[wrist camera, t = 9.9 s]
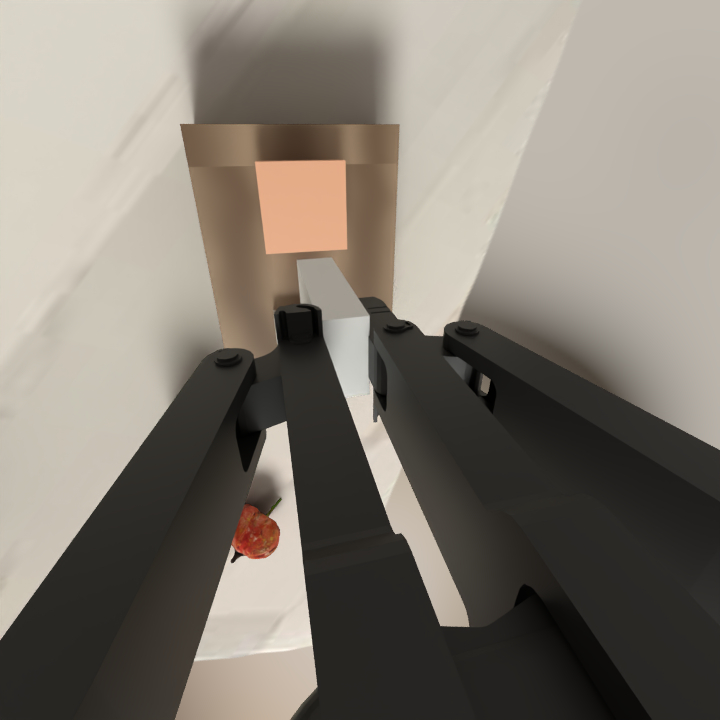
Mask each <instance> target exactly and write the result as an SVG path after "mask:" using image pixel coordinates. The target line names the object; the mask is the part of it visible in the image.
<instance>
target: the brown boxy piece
mask: <svg viewBox="0 0 720 720" xmlns="http://www.w3.org/2000/svg"><path fill="white" fill-rule="evenodd" d="M180 126H181V131H182V136H183V141H184V146H185V151H186V156H187V162H188V167H189V172H190V177H191V182H192V187H193V192H194V197H195V202H196V207H197V212H198V217H199V222H200V227H201V232H202V238H203V243H204V248H205V253H206V258H207V263H208V268H209V273H210V278H211V283H212V288H213V293H214V298H215V303H216V308H217V314H218V319H219V324H220V329H221V334H222V339H223V344H224V349H225V348H241V349H246V350H249V351H251V352H252V354H253V355H254V359H255V358H258V357H261V356H264V355H267V354H268V353H270V352H272V351H273V350H274V349H275V348H276V347H277V338H276V330H275V321H274V312H273V310H277V309H278V308H279V306H286V305H292V304H301V303H300V292H299V281H298V270H297V260H304V259H317V258H331V257H332V259H333V260H334V262H335V263H336V265H337V266H338V268H339V269H340V271H341V273H342V274H343V276H344V277H345V279H346V280H347V282H348V283H349V285H350V286H351V288H352V289H353V291H354V292H355V294H356V295H357V297H358V298H363V297H376V298H378V299H380V300H382V301H384V303H385V304H386V305H387V307H388V308H389V309H390V310H391V312H392V301H393V276H394V250H395V225H396V199H397V174H398V148H399V125H379V124H180ZM282 160H345V161H346V212H347V249H346V250H329V251H312V252H295V253H278V254H266V249H265V241H264V233H263V224H262V216H261V208H260V200H259V191H258V183H257V175H256V167H255V161H282Z"/></svg>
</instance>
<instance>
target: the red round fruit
mask: <svg viewBox="0 0 720 720" xmlns="http://www.w3.org/2000/svg"><path fill="white" fill-rule="evenodd" d="M281 500H282V499H281V498H280V499H279V500H278V501H277V502H276V504H275V505H273V506H272V507H271V510H270V511H269V512H268V513H267V514H266V515H265V514H263V513H262V512H259V510H258V509H257V508H256V507H253V506H252V505H250V504H245V505H244V507H243V510H242V513H241V517H240V520H239V523H238V526H237V529H236V532H235V535H234V538H233V541H232V544H231V545H232V546H233V547H234V549H235V554H234V557H233V558H232V560H231V563H234V562H235V560H236V559H237V558H239V557H241V556H248V557H249V558H251V559H260V558H266V557H268V556H269V555H271V554H272V553H273V552H274V551H275V549H276V548H277V546H278V542H279V536H280V529H279V527H278V526H277V523H276V522H275V521H274V520H272V519H270V518H269V515H270V513H271V512H272V511H273V509H274V508H275V507H276V506H277V505H278V503H279V502H280V501H281Z"/></svg>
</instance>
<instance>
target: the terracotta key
mask: <svg viewBox="0 0 720 720" xmlns="http://www.w3.org/2000/svg"><path fill="white" fill-rule="evenodd" d="M255 167H256V175H257V183H258V191H259V200H260V208H261V216H262V224H263V233H264V241H265V249H266V254H278V253H295V252H312V251H329V250H346V249H347V212H346V161H345V160H282V161H255Z"/></svg>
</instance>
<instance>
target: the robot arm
mask: <svg viewBox="0 0 720 720" xmlns="http://www.w3.org/2000/svg"><path fill="white" fill-rule="evenodd" d="M297 270H298V281H299V292H300V303H301V304H292V305H286V306H279V308H278V309H277V310H276V311H275V312H274V320H275V328H276V335H277V343H278V344H277V347H276V348H275V349H274V350H273V351H272V352H270V353H268V354H267V355H264V356H261V357H258V358H255V359H254V355H253V354H252V352H251V351H249V350H246V349H241V348H225V349H223V350H222V349H221V350H217V351H216V352H214V353H212V354H210V355H208V356H207V357H206V358H205V359H203V361H202V362H201V363H200V365H199V366H198V368H197V369H196V370H195V372H194V373H193V375H192V376H191V377H190V379H189V380H188V381H187V383H186V384H185V386H184V387H183V388H182V390H181V391H180V392H179V394H178V395H177V397H176V398H175V399H174V401H173V402H172V404H171V405H170V406H169V408H168V409H167V410H166V412H165V413H164V415H163V416H162V417H161V419H160V420H159V422H158V423H157V424H156V426H155V427H154V428H153V430H152V431H151V433H150V434H149V435H148V437H147V438H146V440H145V441H144V442H143V444H142V445H141V446H140V448H139V449H138V451H137V452H136V453H135V455H134V456H133V458H132V459H131V460H130V462H129V463H128V464H127V466H126V467H125V469H124V470H123V471H122V473H121V474H120V475H119V477H118V478H117V480H116V481H115V482H114V484H113V485H112V487H111V488H110V489H109V491H108V492H107V493H106V495H105V496H104V498H103V499H102V500H101V502H100V503H99V505H98V506H97V507H96V509H95V510H94V511H93V513H92V514H91V516H90V517H89V518H88V520H87V521H86V523H85V524H84V525H83V527H82V528H81V529H80V531H79V532H78V534H77V535H76V536H75V538H74V539H73V541H72V542H71V543H70V545H69V546H68V547H67V549H66V550H65V552H64V553H63V554H62V556H61V557H60V559H59V560H58V561H57V563H56V564H55V565H54V567H53V568H52V570H51V571H50V572H49V574H48V575H47V576H46V578H45V579H44V581H43V582H42V583H41V585H40V586H39V588H38V589H37V590H36V592H35V593H34V594H33V596H32V597H31V599H30V600H29V601H28V603H27V604H26V606H25V607H24V608H23V610H22V611H21V612H20V614H19V615H18V617H17V618H16V619H15V621H14V622H13V624H12V625H11V626H10V628H9V629H8V630H7V632H6V633H5V635H4V636H3V637H2V639H1V640H0V720H175V717H176V714H177V711H178V708H179V704H180V701H181V698H182V695H183V692H184V689H185V686H186V683H187V680H188V677H189V674H190V671H191V668H192V664H193V661H194V658H195V655H196V652H197V649H198V646H199V643H200V640H201V637H202V634H203V631H204V628H205V624H206V621H207V618H208V615H209V612H210V609H211V606H212V603H213V600H214V597H215V594H216V591H217V587H218V584H219V581H220V578H221V575H222V572H223V569H224V566H225V563H226V560H227V557H228V554H229V550H230V547H231V544H232V541H233V538H234V535H235V532H236V529H237V526H238V523H239V520H240V517H241V513H242V510H243V507H244V504H245V501H246V498H247V495H248V492H249V489H250V486H251V483H252V480H253V477H254V473H255V470H256V467H257V464H258V461H259V458H260V455H261V452H262V449H263V446H264V443H265V440H266V428H269V427H272V426H274V425H277V424H280V423H282V422H285V421H287V428H288V436H289V444H290V453H291V461H292V470H293V478H294V487H295V495H296V504H297V512H298V520H299V529H300V537H301V546H302V557H303V566H304V575H305V583H306V592H307V600H308V609H309V617H310V626H311V634H312V643H313V651H314V659H315V668H316V677H317V685H318V687H317V688H316V689H315V690H314V692H313V693H312V694H311V695H310V696H309V697H308V698H307V699H306V700H305V701H304V702H303V703H302V704H301V706H300V707H299V709H298V710H297V711H296V713H295V714H294V715H293V717H292V718H291V720H720V450H718V449H717V448H715V447H713V446H711V445H709V444H707V443H705V442H703V441H701V440H699V439H698V438H696V437H694V436H692V435H690V434H688V433H686V432H684V431H682V430H681V429H679V428H677V427H675V426H673V425H671V424H669V423H667V422H665V421H663V420H662V419H659V418H658V417H656V416H654V415H652V414H650V413H648V412H646V411H644V410H643V409H641V408H639V407H637V406H635V405H633V404H631V403H629V402H627V401H625V400H624V399H622V398H620V397H618V396H616V395H614V394H612V393H610V392H608V391H606V390H605V389H603V388H601V387H599V386H597V385H595V384H593V383H591V382H589V381H588V380H586V379H584V378H581V377H580V376H578V375H576V374H574V373H572V372H570V371H569V370H567V369H565V368H563V367H561V366H559V365H557V364H555V363H553V362H551V361H549V360H548V359H546V358H544V357H542V356H540V355H538V354H536V353H534V352H532V351H530V350H529V349H527V348H525V347H523V346H521V345H519V344H517V343H515V342H513V341H511V340H510V339H508V338H506V337H504V336H502V335H500V334H498V333H496V332H494V331H492V330H491V329H489V328H487V327H485V326H483V325H480V324H478V323H473V322H471V321H458V322H452V323H450V324H447V325H446V326H445V327H444V334H443V336H425V335H424V334H423V333H422V332H421V331H420V329H419V328H418V327H417V326H416V325H415V324H413V323H412V322H409V321H406V320H399V319H397V318H396V317H395V315H394V314H393V313H392V312H391V310H390V309H389V308H388V307H387V305H386V304H385V303H384V301H382V300H380V299H378V298H376V297H363V298H358V297H357V295H356V294H355V292H354V291H353V289H352V288H351V286H350V285H349V283H348V282H347V280H346V279H345V277H344V276H343V274H342V273H341V271H340V269H339V268H338V266H337V265H336V263H335V262H334V260H333V259H332V257H331V258H317V259H304V260H297ZM483 374H484V375H485V376H487V377H488V378H489V379H491V381H490V387H489V392H488V394H486V393H484V392H483V391H481V383H482V378H483ZM370 381H371V383H372V385H373V420H374V422H377V417H378V415H380V417H381V420H382V422H383V424H384V426H385V429H386V431H387V433H388V435H389V438H390V440H391V442H392V444H393V446H394V449H395V451H396V453H397V455H398V458H399V460H400V462H401V464H402V467H403V469H404V471H405V473H406V475H407V477H408V480H409V482H410V484H411V487H412V489H413V491H414V493H415V496H416V498H417V500H418V502H419V504H420V507H421V509H422V511H423V513H424V515H425V518H426V520H427V522H428V525H429V527H430V529H431V531H432V533H433V536H434V538H435V540H436V542H437V545H438V547H439V549H440V551H441V553H442V556H443V558H444V560H445V562H446V565H447V567H448V569H449V571H450V574H451V576H452V578H453V580H454V583H455V585H456V587H457V589H458V591H459V594H460V595H461V598H462V600H463V603H464V605H465V608H466V611H467V615H468V620H469V626H470V627H447V626H440V624H439V622H438V619H437V617H436V614H435V611H434V609H433V606H432V604H431V601H430V598H429V596H428V593H427V590H426V588H425V585H424V583H423V580H422V577H421V575H420V572H419V570H418V567H417V564H416V562H415V559H414V556H413V554H412V551H411V549H410V547H409V545H408V543H407V540H406V539H405V537H404V536H403V535H402V534H401V533H400V534H395V533H394V532H393V530H392V527H391V525H390V523H389V520H388V517H387V514H386V511H385V508H384V505H383V503H382V500H381V497H380V494H379V491H378V489H377V486H376V483H375V480H374V477H373V475H372V472H371V469H370V466H369V463H368V460H367V458H366V455H365V452H364V449H363V446H362V444H361V441H360V438H359V435H358V432H357V430H356V427H355V424H354V421H353V418H352V416H351V413H350V410H349V407H348V404H347V401H346V399H345V398H348V397H355V396H362V395H369V394H370Z"/></svg>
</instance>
